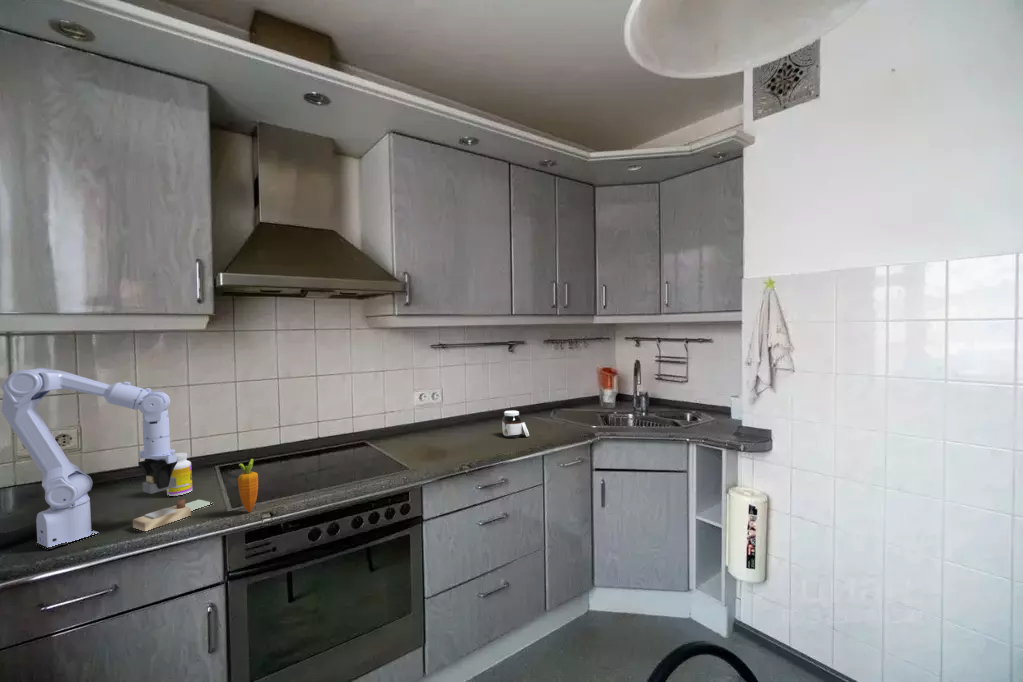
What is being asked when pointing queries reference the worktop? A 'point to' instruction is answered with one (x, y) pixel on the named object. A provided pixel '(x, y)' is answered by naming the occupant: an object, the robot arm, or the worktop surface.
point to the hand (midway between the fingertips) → (159, 486)
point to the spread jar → (513, 425)
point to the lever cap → (152, 484)
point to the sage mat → (197, 504)
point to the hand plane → (162, 516)
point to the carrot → (248, 486)
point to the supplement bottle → (181, 476)
